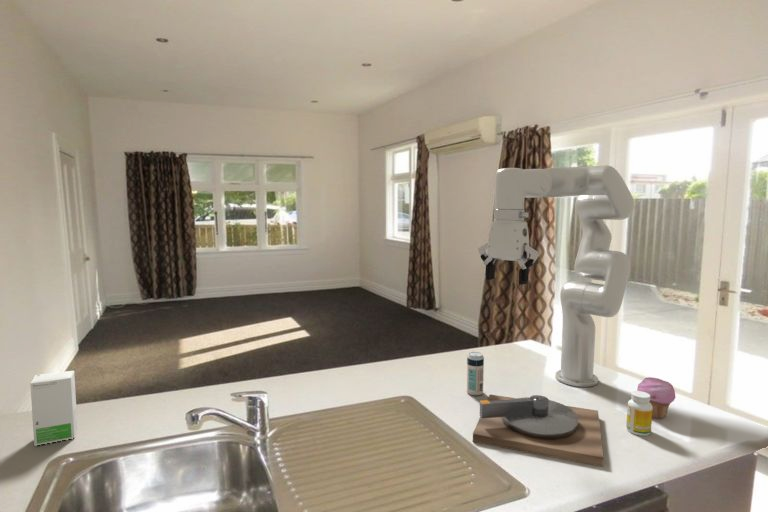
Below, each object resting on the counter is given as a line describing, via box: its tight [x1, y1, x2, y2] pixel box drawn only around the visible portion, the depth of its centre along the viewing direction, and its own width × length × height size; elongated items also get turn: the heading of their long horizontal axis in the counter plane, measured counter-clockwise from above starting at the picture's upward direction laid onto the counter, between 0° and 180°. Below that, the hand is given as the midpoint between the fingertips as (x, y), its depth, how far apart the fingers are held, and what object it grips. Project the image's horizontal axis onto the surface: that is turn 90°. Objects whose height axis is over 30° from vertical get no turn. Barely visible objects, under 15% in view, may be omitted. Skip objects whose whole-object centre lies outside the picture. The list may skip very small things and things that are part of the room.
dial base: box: [472, 394, 604, 467], centre depth 115 cm, size 24×28×2 cm
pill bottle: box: [466, 351, 485, 397], centre depth 136 cm, size 5×5×12 cm
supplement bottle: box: [625, 390, 653, 437], centre depth 113 cm, size 5×5×10 cm
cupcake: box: [636, 376, 676, 419], centre depth 121 cm, size 9×9×10 cm
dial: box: [479, 394, 578, 439], centre depth 114 cm, size 24×18×6 cm
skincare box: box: [30, 370, 78, 447], centre depth 112 cm, size 8×7×16 cm
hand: (506, 281), depth 121 cm, fingers open, 9 cm apart
